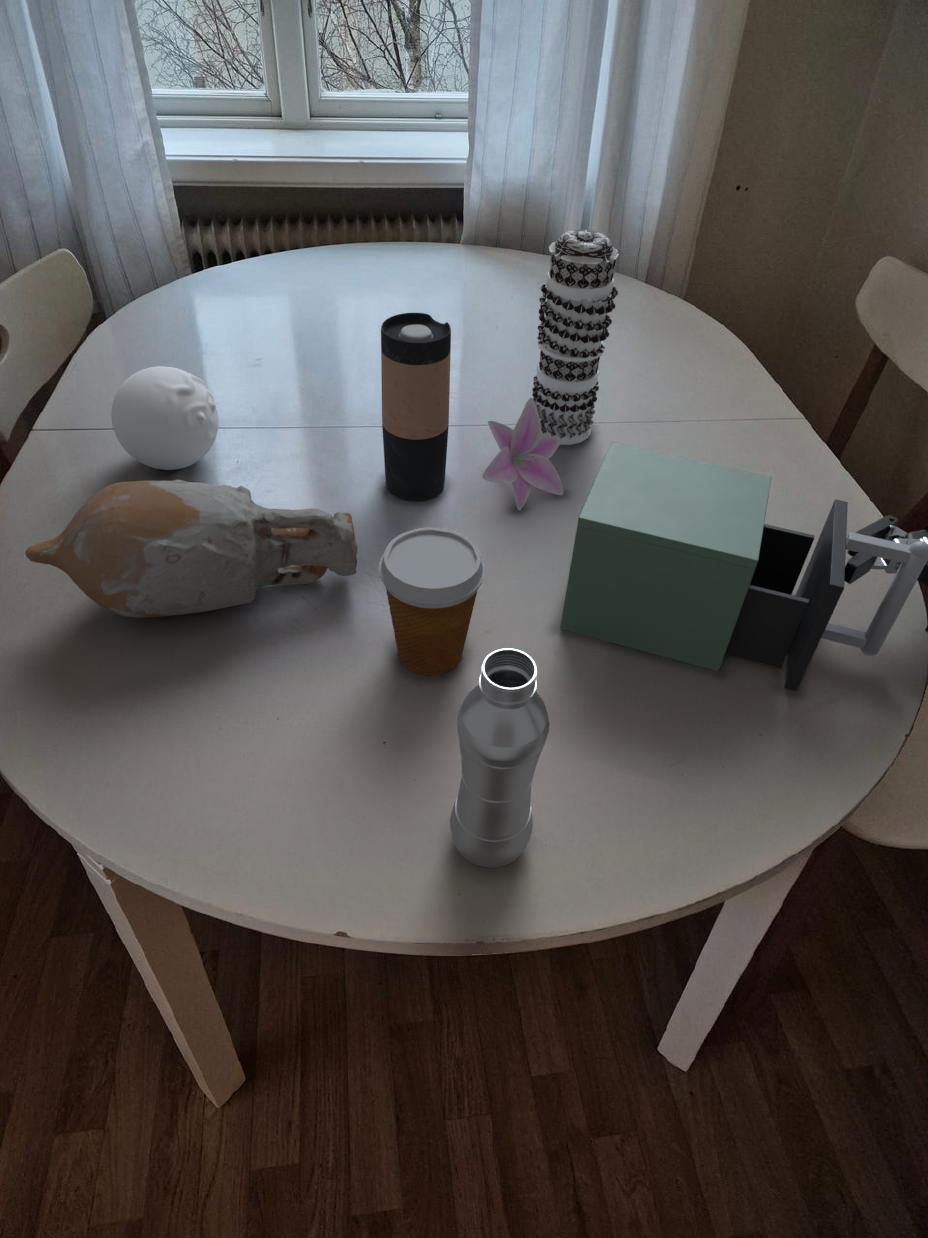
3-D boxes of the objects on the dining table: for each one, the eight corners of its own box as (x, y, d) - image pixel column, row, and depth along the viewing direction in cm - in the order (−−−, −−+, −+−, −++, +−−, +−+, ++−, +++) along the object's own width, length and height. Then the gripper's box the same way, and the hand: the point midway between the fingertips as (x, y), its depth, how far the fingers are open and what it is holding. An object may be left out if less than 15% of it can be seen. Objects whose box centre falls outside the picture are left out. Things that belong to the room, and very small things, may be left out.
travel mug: (384, 503, 102) (380, 343, 88) (383, 467, 107) (379, 311, 93) (448, 502, 102) (454, 343, 89) (444, 466, 108) (449, 311, 94)
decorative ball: (198, 496, 101) (180, 405, 93) (105, 480, 103) (78, 388, 94) (241, 444, 109) (227, 356, 101) (154, 429, 111) (133, 342, 103)
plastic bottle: (439, 868, 67) (447, 696, 53) (460, 797, 72) (472, 624, 58) (520, 887, 66) (550, 718, 52) (536, 815, 71) (566, 642, 57)
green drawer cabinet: (734, 584, 94) (771, 476, 84) (718, 671, 84) (758, 560, 74) (591, 549, 97) (611, 441, 87) (559, 629, 87) (578, 517, 78)
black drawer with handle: (872, 620, 90) (931, 503, 80) (871, 711, 81) (938, 593, 71) (664, 568, 95) (695, 452, 85) (641, 649, 86) (672, 530, 75)
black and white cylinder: (592, 450, 112) (625, 255, 95) (521, 441, 113) (542, 246, 96) (596, 416, 119) (628, 227, 102) (530, 407, 120) (550, 219, 103)
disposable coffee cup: (388, 694, 80) (386, 597, 72) (375, 624, 87) (372, 528, 78) (488, 682, 81) (497, 586, 73) (468, 614, 88) (474, 519, 80)
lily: (462, 518, 102) (500, 474, 94) (450, 436, 106) (485, 388, 99) (549, 530, 107) (591, 489, 99) (534, 451, 112) (573, 406, 104)
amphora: (11, 472, 81) (323, 404, 82) (89, 574, 94) (357, 514, 95) (-5, 586, 73) (339, 509, 74) (82, 680, 86) (374, 614, 87)
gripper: (927, 472, 88) (836, 528, 80) (1067, 543, 80) (982, 612, 72) (898, 531, 93) (810, 589, 85) (1028, 602, 85) (944, 673, 78)
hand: (889, 599), depth 79 cm, fingers open, 8 cm apart
